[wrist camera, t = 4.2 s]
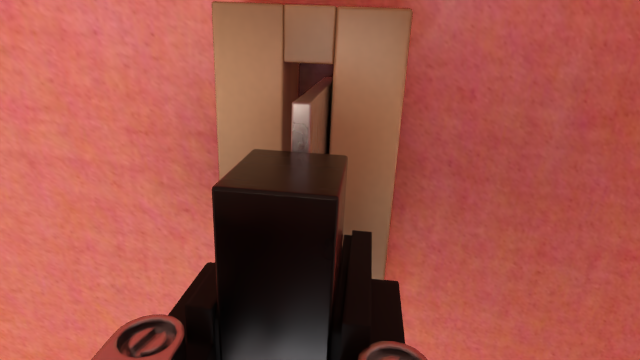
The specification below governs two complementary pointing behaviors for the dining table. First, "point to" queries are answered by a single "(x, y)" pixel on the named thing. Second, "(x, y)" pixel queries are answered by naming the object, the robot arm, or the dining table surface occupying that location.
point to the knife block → (347, 93)
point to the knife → (282, 241)
